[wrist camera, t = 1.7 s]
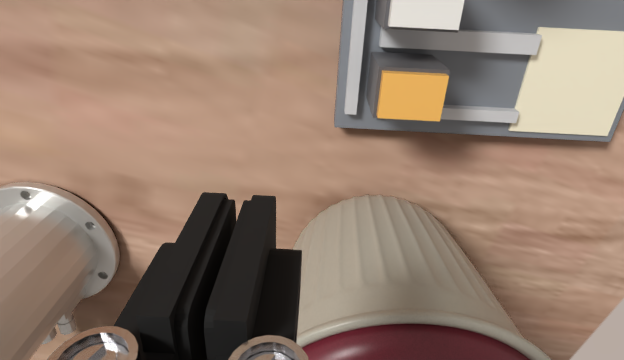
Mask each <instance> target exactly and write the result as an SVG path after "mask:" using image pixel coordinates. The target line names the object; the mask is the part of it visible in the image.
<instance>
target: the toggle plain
mask: <svg viewBox="0 0 624 360" xmlns="http://www.w3.org/2000/svg"><path fill="white" fill-rule="evenodd" d="M464 2H465V0H377V2H376V11H375V20H376V21H377V22H378V23H379V24H380V26H381V27H382V28H383V29H397V30H416V31H436V32H455V33H458V31H459V26H460V21H461V16H462V12H463V7H464Z"/></svg>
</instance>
